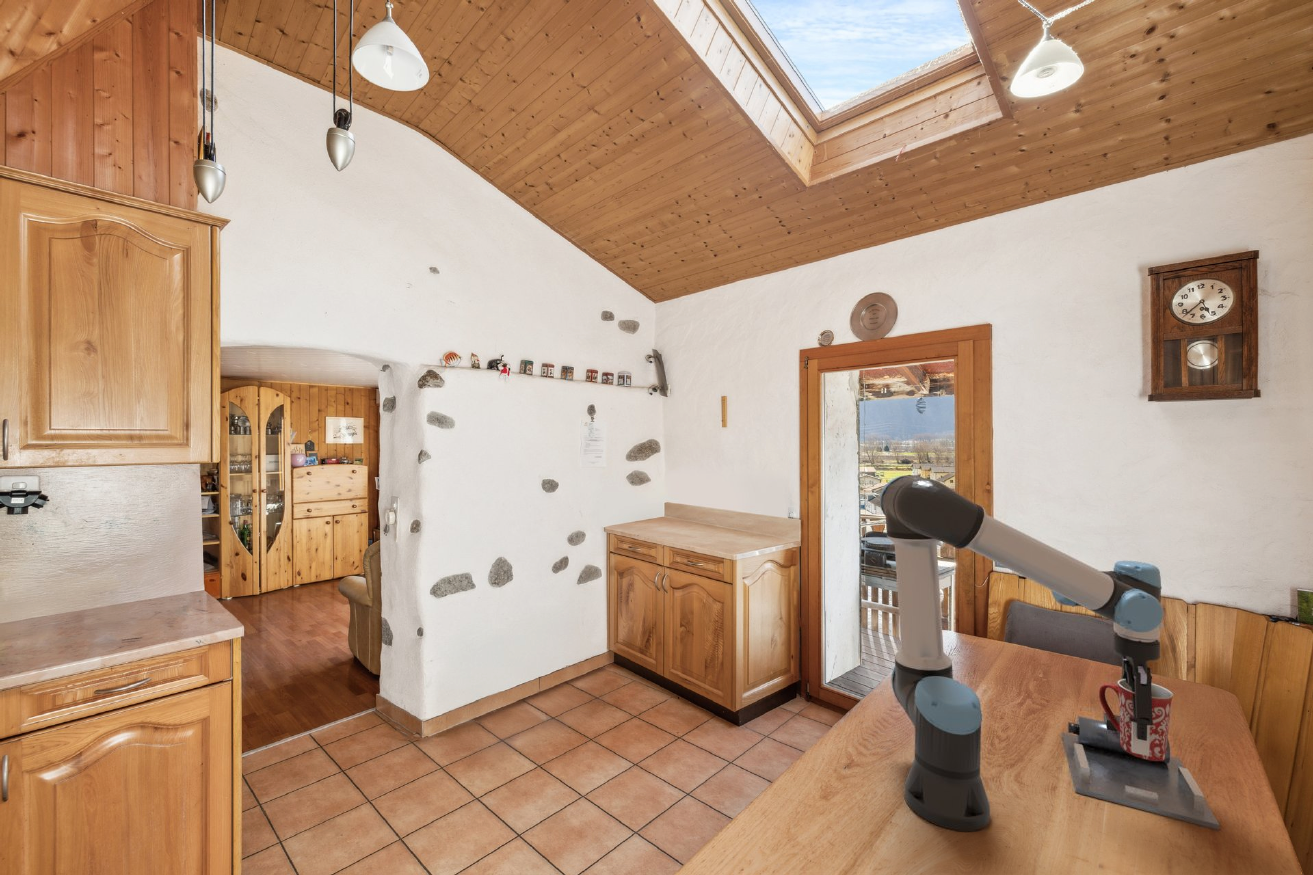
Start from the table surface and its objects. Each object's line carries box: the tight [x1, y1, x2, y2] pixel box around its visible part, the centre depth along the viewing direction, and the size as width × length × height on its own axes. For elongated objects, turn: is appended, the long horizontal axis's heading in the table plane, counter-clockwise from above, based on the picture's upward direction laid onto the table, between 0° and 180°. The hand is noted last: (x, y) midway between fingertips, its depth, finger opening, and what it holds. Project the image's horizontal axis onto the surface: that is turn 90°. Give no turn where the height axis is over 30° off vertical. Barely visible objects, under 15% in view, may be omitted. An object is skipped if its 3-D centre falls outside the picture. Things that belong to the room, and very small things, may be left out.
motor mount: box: [1060, 712, 1220, 831], centre depth 125 cm, size 26×22×8 cm
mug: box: [1098, 679, 1174, 761], centre depth 122 cm, size 13×9×14 cm
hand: (1135, 742), depth 121 cm, fingers closed on mug, 8 cm apart
